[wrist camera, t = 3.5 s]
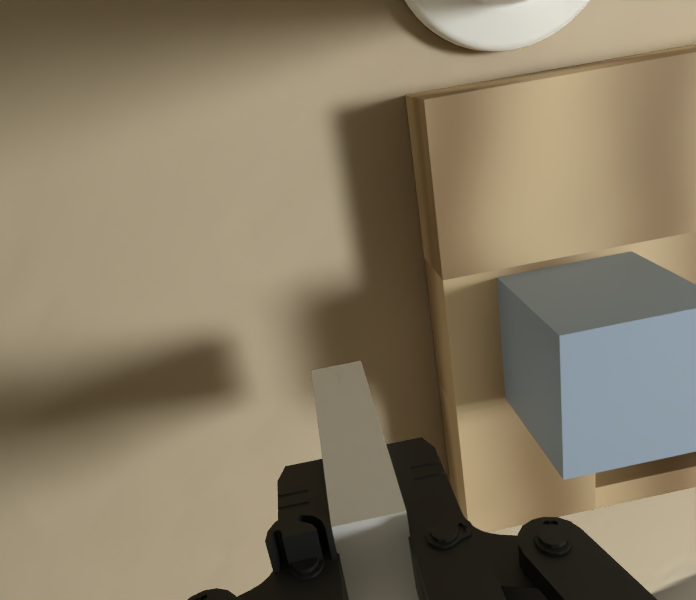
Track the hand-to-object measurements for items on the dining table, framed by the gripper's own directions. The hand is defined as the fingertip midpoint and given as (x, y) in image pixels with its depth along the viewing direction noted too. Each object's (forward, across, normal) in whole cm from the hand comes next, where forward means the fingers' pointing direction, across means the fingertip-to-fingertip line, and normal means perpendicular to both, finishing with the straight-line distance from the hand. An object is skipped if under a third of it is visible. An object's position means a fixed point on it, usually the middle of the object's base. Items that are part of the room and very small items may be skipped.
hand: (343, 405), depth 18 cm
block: (+2, +8, 0) cm, 8 cm away
